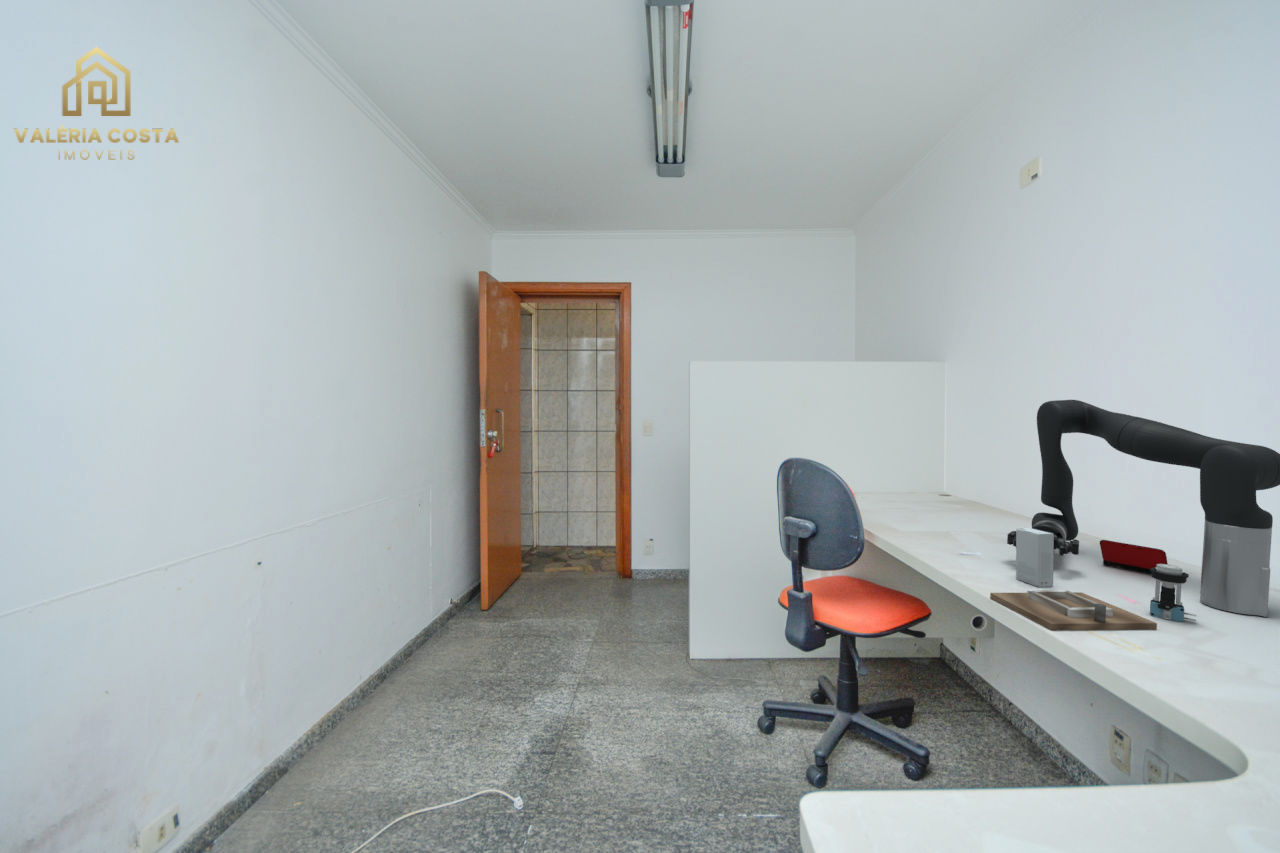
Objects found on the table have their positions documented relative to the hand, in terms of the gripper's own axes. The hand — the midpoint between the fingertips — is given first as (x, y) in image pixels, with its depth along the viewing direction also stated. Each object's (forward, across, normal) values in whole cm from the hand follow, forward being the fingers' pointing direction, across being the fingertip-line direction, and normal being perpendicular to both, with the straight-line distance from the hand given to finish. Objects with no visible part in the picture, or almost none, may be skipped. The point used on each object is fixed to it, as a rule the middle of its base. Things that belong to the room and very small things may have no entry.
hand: (1039, 547), depth 130 cm
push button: (+15, +22, +7) cm, 28 cm away
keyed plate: (+26, +8, +7) cm, 27 cm away
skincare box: (+8, 0, +7) cm, 10 cm away
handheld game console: (-23, +18, +7) cm, 30 cm away
